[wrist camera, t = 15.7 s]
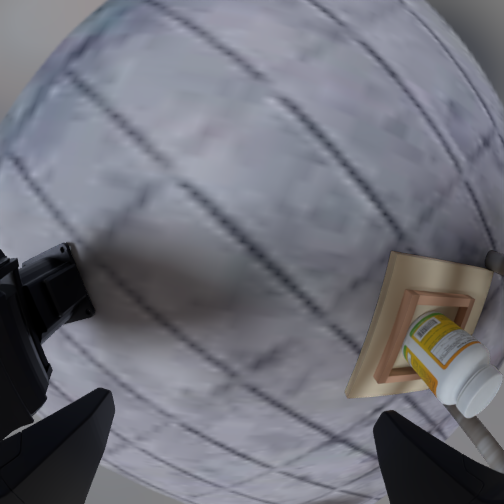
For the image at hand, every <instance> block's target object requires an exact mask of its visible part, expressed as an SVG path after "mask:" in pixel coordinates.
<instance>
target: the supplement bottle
mask: <svg viewBox="0 0 504 504" xmlns="http://www.w3.org/2000/svg"><path fill="white" fill-rule="evenodd" d="M402 354H403V357H404V358H405V359H406V361H407V362H408V363H409V364H410V366H411V367H412V368H413V369H414V370H415V371H416V373H417V374H418V375H419V376H420V377H421V379H422V380H423V381H424V382H425V384H426V385H427V386H428V387H429V388H430V390H431V391H432V392H433V393H434V395H435V396H436V397H437V398H438V399H439V401H440V402H441V403H443V404H445V405H454V404H456V407H457V408H458V410H459V411H460V412H461V413H462V414H463V416H464V417H466V418H471V417H474V416H475V415H477V414H478V413H480V412H481V411H482V410H483V409H484V408H485V407H486V406H487V405H488V404H489V403H490V402H491V401H492V399H493V398H494V397H495V395H496V394H497V392H498V390H499V388H500V386H501V384H502V381H503V375H502V373H501V372H500V371H499V370H498V369H497V368H496V367H495V366H493V365H491V364H490V353H489V351H488V349H487V348H486V347H485V346H484V345H483V344H481V343H480V342H479V341H478V340H476V339H475V338H474V337H472V336H471V335H470V334H468V333H467V332H466V331H465V330H463V329H462V328H461V327H459V326H458V325H457V324H455V323H454V322H453V321H451V320H450V319H449V318H447V317H446V316H445V315H443V314H442V313H440V312H437V311H431V312H427V313H425V314H423V315H422V316H420V317H419V318H417V319H416V320H415V321H414V322H413V323H412V324H411V326H410V327H409V329H408V331H407V334H406V337H405V339H404V342H403V344H402Z"/></svg>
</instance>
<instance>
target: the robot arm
mask: <svg viewBox="0 0 504 504" xmlns="http://www.w3.org/2000/svg"><path fill="white" fill-rule="evenodd" d="M63 247H64V249H65V251H63ZM18 267H19V264H18V258H12V259H10V258H7V256H5V255H4V253H3V252H2V250H1V249H0V504H84V503H85V500H86V497H87V494H88V492H89V489H90V486H91V483H92V481H93V478H94V476H95V473H96V470H97V468H98V465H99V463H100V460H101V458H102V455H103V453H104V450H105V447H106V443H107V439H108V436H109V432H110V428H111V425H112V421H113V417H114V414H115V405H114V401H113V396H112V392H111V391H110V390H107V389H104V388H97V389H95V390H93V391H92V392H90V393H88V394H87V395H85V396H83V397H81V398H80V399H78V400H76V401H75V402H73V403H71V404H69V405H68V406H66V407H64V408H62V409H61V410H59V411H57V412H55V413H53V414H52V415H50V416H48V417H46V418H44V419H43V420H41V421H39V422H37V423H36V424H34V425H32V426H30V427H28V428H26V429H24V430H22V433H21V432H18V433H17V434H15V435H13V436H11V437H9V438H7V439H4V438H5V437H6V436H7V435H9V434H10V433H11V432H12V431H14V430H16V429H18V428H20V427H21V426H25V425H28V424H31V423H33V422H34V419H33V418H32V416H33V415H34V414H35V413H36V412H37V411H38V410H39V409H40V408H41V407H42V406H43V404H44V403H45V402H46V400H47V396H46V391H47V388H48V385H49V379H50V376H51V373H52V371H53V370H52V367H51V365H50V363H48V361H47V358H46V356H45V354H44V351H43V349H42V346H41V345H42V344H43V343H44V342H45V341H46V340H47V339H48V338H49V337H50V336H51V335H52V334H53V333H54V332H55V331H56V330H58V329H59V328H60V327H61V326H62V325H63V324H66V323H70V322H74V321H78V320H82V319H86V318H90V317H92V316H93V315H94V314H95V310H94V307H93V305H92V303H91V301H90V299H89V296H88V294H87V292H86V289H85V287H84V285H83V282H82V280H81V277H80V275H79V272H78V270H77V267H76V265H75V262H74V259H73V257H72V254H71V251H70V248H69V246H68V244H67V243H62V244H59V245H57V246H55V247H53V248H51V249H49V250H47V251H45V252H43V253H41V254H39V255H37V256H35V257H33V258H31V259H29V260H27V261H25V262H23V263H22V268H20V269H18ZM88 310H89V311H90V312H89V311H88ZM373 434H374V439H375V445H376V450H377V456H378V461H379V466H380V469H381V473H382V476H383V480H384V483H385V486H386V490H387V494H388V497H389V501H390V504H504V474H503V473H501V472H498V471H496V470H493V469H491V468H489V467H486V466H484V465H482V464H480V463H478V462H476V461H474V460H472V459H470V458H469V457H467V456H465V455H464V454H462V453H460V452H459V451H457V450H455V449H454V448H452V447H450V446H449V445H447V444H445V443H444V442H442V441H441V440H439V439H437V438H436V437H434V436H433V435H431V434H429V433H428V432H426V431H425V430H423V429H422V428H420V427H419V426H417V425H415V424H414V423H412V422H411V421H409V420H408V419H406V418H405V417H403V416H402V415H400V414H399V413H397V412H396V411H394V410H389V411H384V412H382V414H381V415H380V417H379V418H378V420H377V422H376V423H375V425H374V428H373ZM3 439H4V440H3Z"/></svg>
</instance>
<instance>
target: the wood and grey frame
mask: <svg viewBox="0 0 504 504" xmlns="http://www.w3.org/2000/svg"><path fill="white" fill-rule="evenodd" d="M485 266H486V268H487V269H486V268H481V267H476V266H471V265H466V264H461V263H456V262H450V261H445V260H440V259H434V258H429V257H423V256H418V255H412V254H407V253H401V252H395V251H391V254H390V258H389V262H388V266H387V270H386V274H385V278H384V281H383V285H382V289H381V292H380V296H379V299H378V302H377V306H376V309H375V312H374V315H373V318H372V321H371V324H370V327H369V330H368V333H367V336H366V339H365V342H364V345H363V347H362V350H361V353H360V355H359V358H358V360H357V363H356V366H355V368H354V371H353V373H352V375H351V378H350V380H349V383H348V385H347V387H346V390H345V394H346V396H347V398H362V397H374V396H384V395H392V394H400V393H407V392H414V391H420V390H426V389H430V388H429V387H428V386H427V385H426V384H425V382H424V381H423V380H422V379H421V377H420V376H419V375H418V374H417V373H416V371H415V370H414V369H413V368H412V367H411V366H410V364H409V363H408V362H407V361H406V359H405V358H404V357H403V354H402V344H403V342H404V339H405V337H406V334H407V331H408V329H409V327H410V326H411V324H412V323H413V322H414V321H415V320H416V319H417V318H419V317H420V316H422V315H423V314H425V313H427V312H431V311H437V312H440V313H442V314H443V315H445V316H446V317H447V318H449V319H450V320H451V321H453V322H454V323H455V324H457V325H458V326H459V327H461V328H462V329H463V330H465V331H466V332H467V333H468V334H470V335H471V336H472V334H473V332H474V329H475V327H476V324H477V322H478V319H479V317H480V314H481V311H482V308H483V306H484V303H485V300H486V297H487V294H488V290H489V287H490V284H491V281H492V277H493V273H494V272H496V273H498V274H500V275H502V276H504V255H503V254H501V253H498V252H495V251H492V250H491V251H489V253H488V254H487V256H486V260H485ZM443 405H444V406H445V407H446V409H447V410H448V411H449V412H450V414H451V415H452V416H453V417H454V419H455V420H456V421H457V423H458V424H459V425H460V426H461V428H462V429H463V430H464V432H465V433H466V434H467V436H468V437H469V438H470V440H471V441H472V442H473V444H474V445H475V446H476V448H477V449H478V451H479V452H480V454H481V455H482V456H483V458H484V459H485V460H486V462H487V463H488V465H489V466H490V468H491V469H493V470H496V471H498V472H501V473H503V474H504V450H503V449H502V447H501V446H500V445H499V444H498V442H497V441H496V440H495V438H494V437H493V436H492V435H491V433H490V432H489V431H488V430H487V429H486V427H485V426H484V425H483V424H482V422H481V421H480V420H479V419H478V418H477V416H476V415H475V416H474V417H471V418H466V417H464V416H463V414H462V413H461V412H460V411H459V410H458V408H457V407H456V404H454V405H445V404H443Z"/></svg>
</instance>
